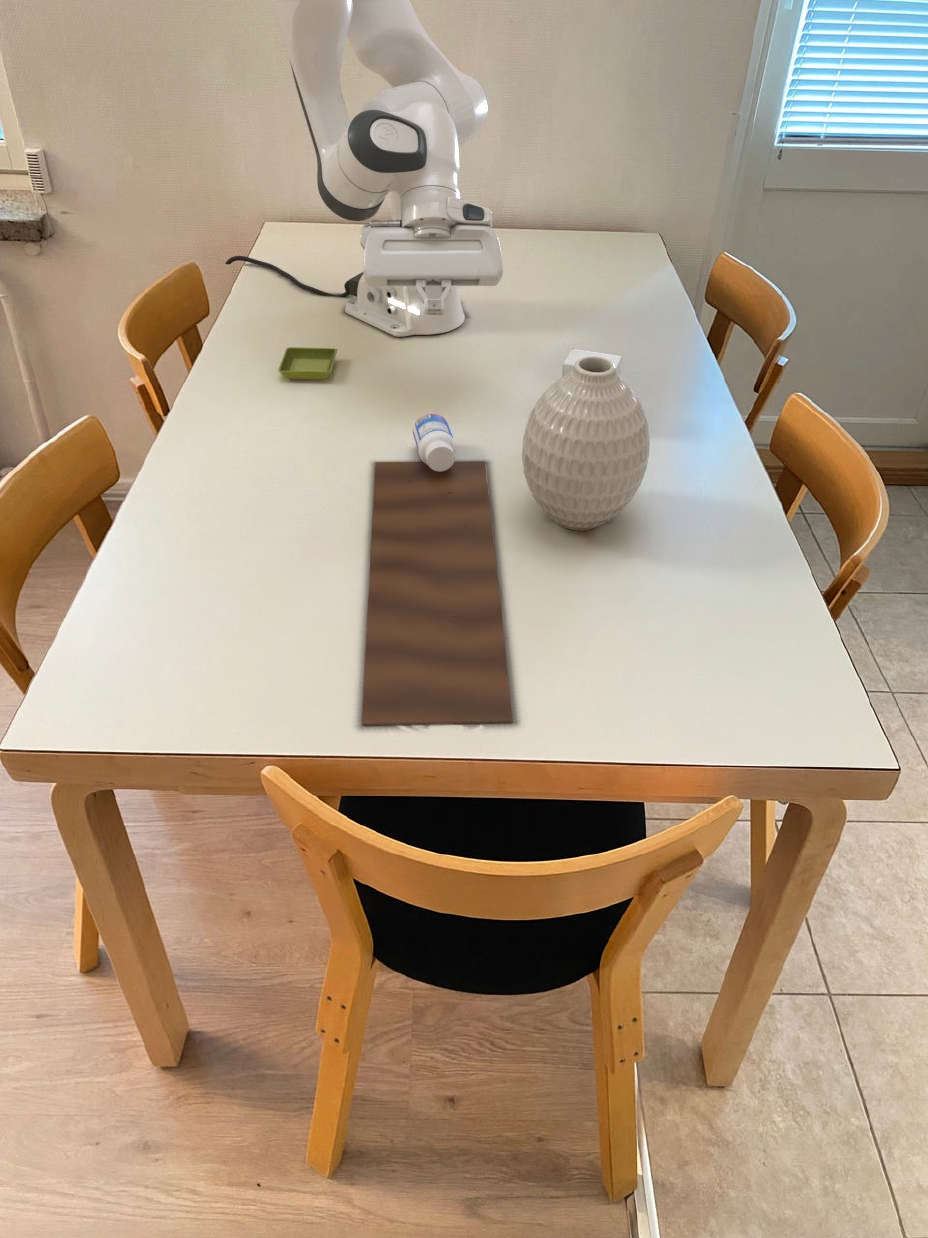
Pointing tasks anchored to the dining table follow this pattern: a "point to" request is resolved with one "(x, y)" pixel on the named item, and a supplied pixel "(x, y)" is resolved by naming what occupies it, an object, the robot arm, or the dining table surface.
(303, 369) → the green square tray
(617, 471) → the vase
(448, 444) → the pill bottle
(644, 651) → the dining table surface
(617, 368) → the small box
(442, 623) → the board
